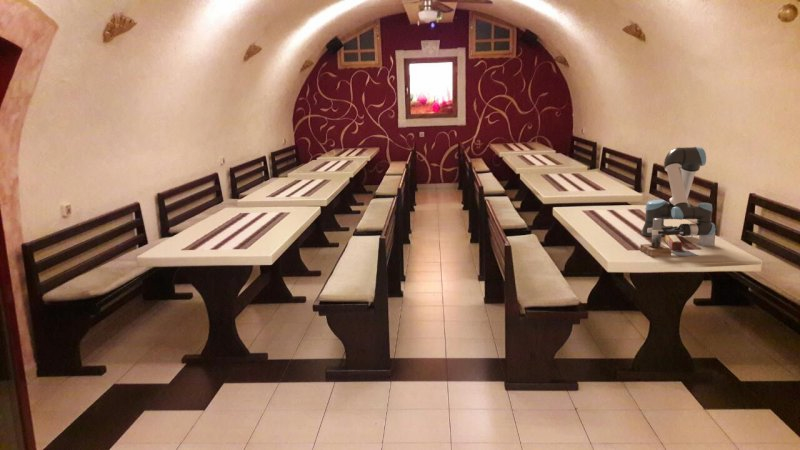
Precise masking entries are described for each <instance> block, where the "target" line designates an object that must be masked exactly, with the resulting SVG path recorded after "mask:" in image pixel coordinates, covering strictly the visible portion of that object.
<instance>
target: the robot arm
mask: <svg viewBox="0 0 800 450" xmlns="http://www.w3.org/2000/svg"><path fill="white" fill-rule="evenodd" d="M706 154H707V153H706V150H705V148H703V147H700V146H699V147H697V146H693V147H692V146H691V147H680V146H679V147H674V148H673V149H671V150H670V151H668V153H667V154H666V156H665V158H664V162H663V167H664V171H665V172H667V178H668V181H669V187H670V191H671V196H672V197H670V198H669V199H668V200H669V201H666V200H664V199H651V200H648V201H647V202H646V203H645V217H644V224H643V227H642V230H641V235H642V236H645V237H650V238H652V235H661V238H663V237H665V235H676V236H681V237H691V238H692V237H694V236H695V237H697V236H699V235H712V234H714V233H716V230H717V229H716V225H715V223H714V222H712V218H713V217H712V215H713V204H712V203H709V202H699V203H698V204H697V206H691V204H690V203H689V201H688V198H689V195H690V191H691V189H692V185H693V182H694V178H695V175H696V173H697V172H698V171H700V168H701V167H703V166H705V165H706V163H707V162H706V161H707V155H706ZM653 218H661V219H662V230H652V229H653ZM665 220H681V221H682V220H696V222H694V223H693V222H690V223H689V222H688V223H680V224H679V226H677V225H676V226H673V225H667V226H666V225H665V223H664V222H665Z"/></svg>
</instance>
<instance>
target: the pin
mask: <svg viewBox="0 0 800 450" xmlns="http://www.w3.org/2000/svg"><path fill="white" fill-rule="evenodd" d="M652 230H662V219H661V218H653V229H652ZM650 244H651V245H653V246H661V244H662V237H661V235H652V237H651V243H650Z"/></svg>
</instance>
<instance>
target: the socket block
mask: <svg viewBox="0 0 800 450" xmlns="http://www.w3.org/2000/svg"><path fill="white" fill-rule="evenodd" d="M651 244H652V243H643V244H642V243H640V247H639V249H640V250H639V251H640V252H641V253H643V252H644V253H643V254H646V256H649V257H650V258H652V257H653V258H654V257H665V256H666V257H668V256H672V253H671V251H672V250H671V248H670V247H669V246H668V247H667V246H665V245H664V244H662V243H661V246H653V245H651Z"/></svg>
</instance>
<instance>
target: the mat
mask: <svg viewBox="0 0 800 450" xmlns="http://www.w3.org/2000/svg"><path fill="white" fill-rule="evenodd" d="M671 254H673V255H675V256H677V257H679V258H687V257H688V258H690V257H699V255H698V254H696V253H695V252H692V251H690V250H671Z"/></svg>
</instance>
